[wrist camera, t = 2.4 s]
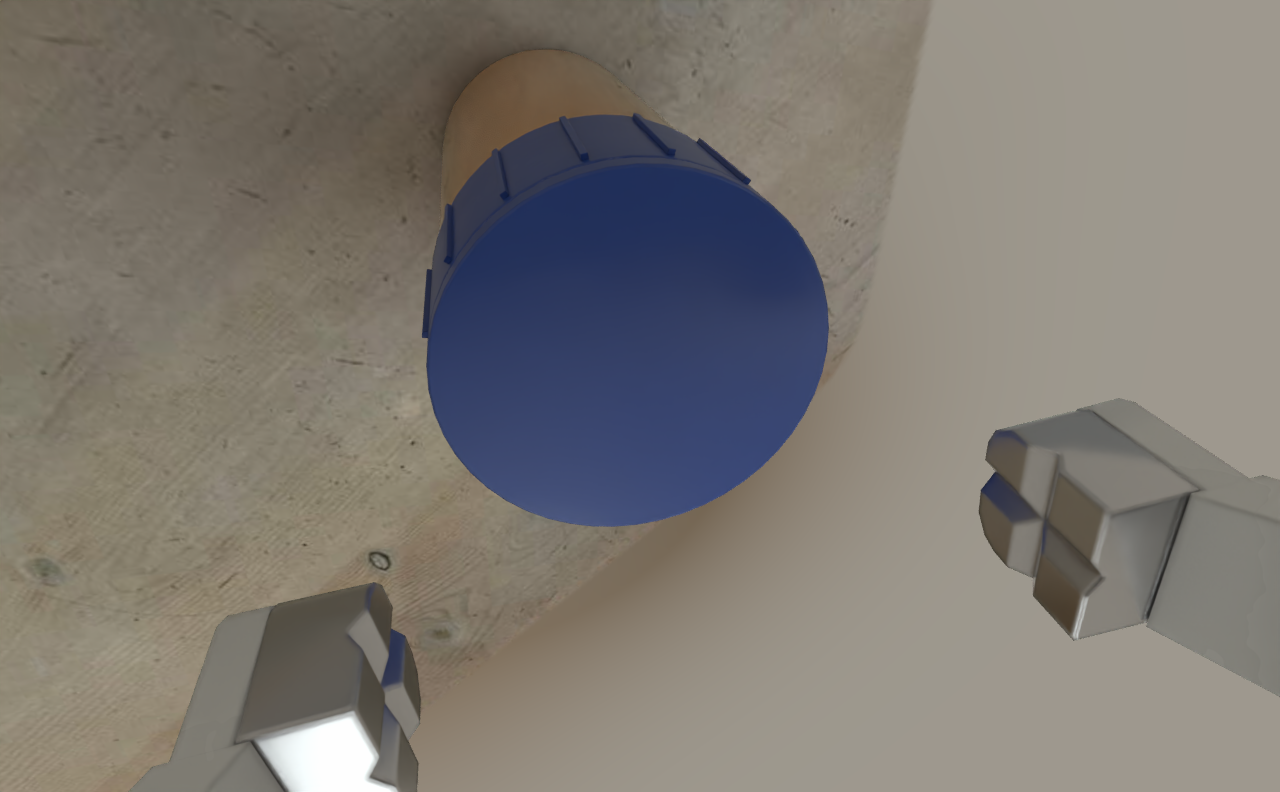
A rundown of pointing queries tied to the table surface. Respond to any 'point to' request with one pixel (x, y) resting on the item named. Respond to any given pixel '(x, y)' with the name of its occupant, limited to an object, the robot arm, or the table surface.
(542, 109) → the jam jar
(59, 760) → the table surface
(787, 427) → the jam lid
